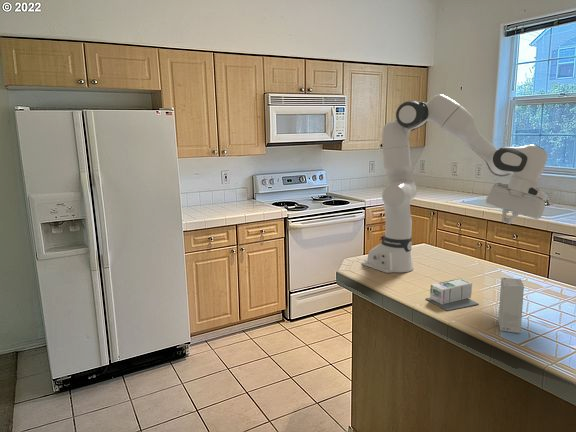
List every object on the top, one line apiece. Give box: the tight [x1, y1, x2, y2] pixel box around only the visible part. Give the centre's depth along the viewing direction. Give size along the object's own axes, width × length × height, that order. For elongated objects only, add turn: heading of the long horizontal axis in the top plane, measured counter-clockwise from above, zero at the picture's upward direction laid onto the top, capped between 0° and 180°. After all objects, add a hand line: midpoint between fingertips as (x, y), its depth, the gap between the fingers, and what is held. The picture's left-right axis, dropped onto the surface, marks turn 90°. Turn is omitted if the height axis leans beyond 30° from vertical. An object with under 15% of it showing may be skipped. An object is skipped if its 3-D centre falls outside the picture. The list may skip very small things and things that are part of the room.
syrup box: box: [429, 278, 473, 304], centre depth 157 cm, size 6×6×14 cm
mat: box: [425, 297, 480, 312], centre depth 155 cm, size 11×14×1 cm
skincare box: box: [497, 277, 525, 334], centre depth 134 cm, size 8×6×15 cm
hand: (505, 222), depth 164 cm, fingers closed
